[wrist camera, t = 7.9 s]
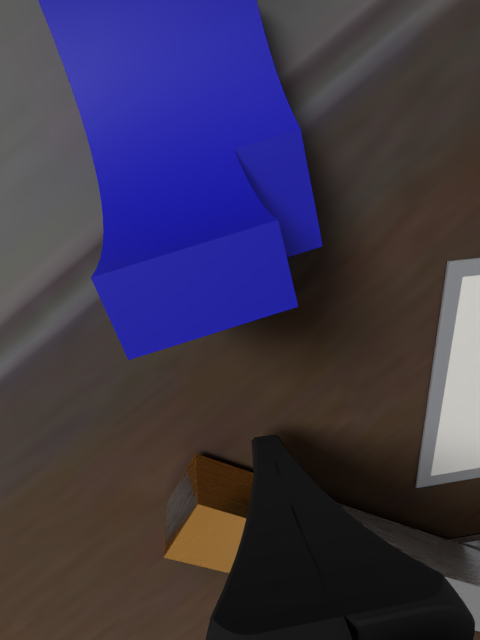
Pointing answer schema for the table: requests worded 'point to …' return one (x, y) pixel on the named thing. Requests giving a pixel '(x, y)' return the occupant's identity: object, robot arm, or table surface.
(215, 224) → the blue cradle mount
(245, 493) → the orange-tipped grey bar
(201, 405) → the table surface
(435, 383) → the label
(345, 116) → the table surface
